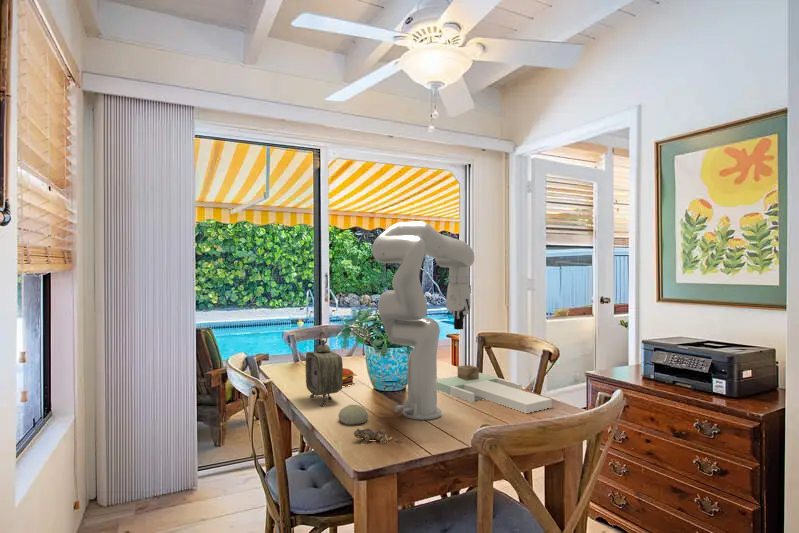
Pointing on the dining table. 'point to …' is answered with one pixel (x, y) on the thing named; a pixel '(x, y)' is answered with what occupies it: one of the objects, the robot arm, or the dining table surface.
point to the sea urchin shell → (353, 414)
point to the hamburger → (347, 377)
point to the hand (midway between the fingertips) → (458, 329)
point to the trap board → (494, 392)
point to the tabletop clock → (323, 371)
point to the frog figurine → (370, 435)
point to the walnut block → (468, 372)
